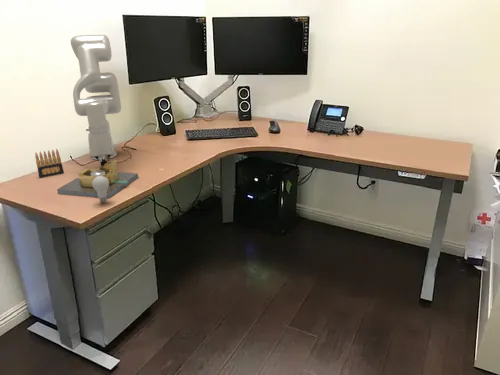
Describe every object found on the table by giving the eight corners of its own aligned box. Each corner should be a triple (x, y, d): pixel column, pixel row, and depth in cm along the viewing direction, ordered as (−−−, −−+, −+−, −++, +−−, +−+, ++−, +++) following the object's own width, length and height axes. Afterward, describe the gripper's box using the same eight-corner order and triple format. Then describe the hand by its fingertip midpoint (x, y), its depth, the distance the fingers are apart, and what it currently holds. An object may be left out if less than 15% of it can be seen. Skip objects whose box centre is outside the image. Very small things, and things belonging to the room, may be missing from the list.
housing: (91, 174, 197) (89, 161, 194) (140, 177, 191) (138, 165, 188) (58, 193, 175) (55, 180, 173) (111, 198, 169) (109, 184, 167)
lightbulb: (113, 199, 169) (109, 173, 165) (109, 205, 163) (105, 178, 159) (98, 199, 169) (93, 173, 164) (93, 205, 163) (88, 179, 159)
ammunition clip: (39, 178, 193) (33, 153, 189) (38, 177, 195) (33, 152, 190) (64, 173, 198) (59, 149, 194) (63, 172, 200) (58, 148, 195)
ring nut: (101, 168, 196) (99, 158, 194) (130, 170, 193) (129, 160, 191) (72, 185, 177) (70, 174, 175) (104, 188, 173) (103, 177, 172)
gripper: (80, 133, 180) (87, 173, 187) (116, 129, 184) (122, 169, 191) (81, 129, 187) (88, 168, 194) (116, 126, 191) (121, 164, 198)
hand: (104, 168), depth 192 cm, fingers closed
